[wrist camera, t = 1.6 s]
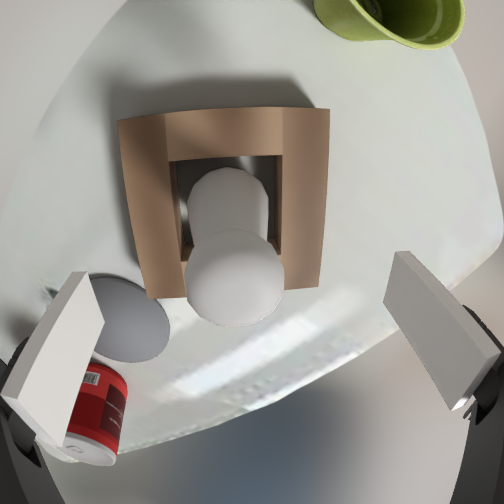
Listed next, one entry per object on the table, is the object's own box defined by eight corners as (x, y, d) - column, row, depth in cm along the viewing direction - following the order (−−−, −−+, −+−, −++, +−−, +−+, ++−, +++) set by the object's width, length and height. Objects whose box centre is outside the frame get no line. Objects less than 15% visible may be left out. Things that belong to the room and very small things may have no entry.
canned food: (63, 373, 31) (40, 440, 21) (92, 352, 29) (66, 430, 20) (107, 403, 34) (94, 469, 25) (140, 386, 33) (129, 462, 23)
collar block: (154, 279, 26) (148, 299, 23) (129, 118, 19) (117, 120, 17) (308, 268, 27) (318, 286, 24) (316, 108, 20) (329, 109, 18)
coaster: (90, 357, 30) (89, 361, 29) (56, 279, 25) (54, 282, 24) (178, 358, 31) (178, 362, 30) (158, 274, 26) (157, 277, 25)
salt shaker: (255, 153, 22) (298, 212, 10) (270, 220, 24) (316, 329, 13) (180, 173, 22) (140, 254, 10) (201, 238, 25) (192, 358, 13)
